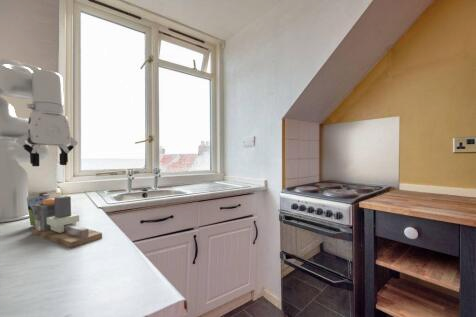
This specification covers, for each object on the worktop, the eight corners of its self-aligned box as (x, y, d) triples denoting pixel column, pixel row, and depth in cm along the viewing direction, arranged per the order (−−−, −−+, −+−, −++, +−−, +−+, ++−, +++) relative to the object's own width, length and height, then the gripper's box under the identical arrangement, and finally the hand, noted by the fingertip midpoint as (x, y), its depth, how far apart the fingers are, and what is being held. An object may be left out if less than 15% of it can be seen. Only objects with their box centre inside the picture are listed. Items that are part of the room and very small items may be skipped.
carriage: (46, 230, 67) (46, 197, 67) (69, 224, 72) (68, 194, 72) (56, 233, 64) (55, 199, 64) (79, 227, 69) (78, 196, 69)
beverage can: (42, 228, 75) (41, 193, 74) (21, 228, 75) (20, 193, 75) (58, 222, 81) (57, 190, 81) (38, 222, 81) (37, 190, 81)
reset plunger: (40, 207, 71) (40, 199, 71) (55, 204, 74) (55, 197, 74) (46, 208, 69) (46, 200, 69) (61, 206, 72) (61, 198, 72)
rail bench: (31, 233, 70) (30, 205, 70) (61, 225, 77) (60, 200, 77) (71, 248, 58) (70, 214, 58) (102, 237, 65) (101, 207, 65)
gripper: (16, 103, 62) (18, 167, 62) (84, 113, 77) (85, 164, 77) (6, 106, 65) (8, 167, 66) (72, 115, 80) (74, 164, 81)
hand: (50, 165), depth 71 cm, fingers open, 6 cm apart
